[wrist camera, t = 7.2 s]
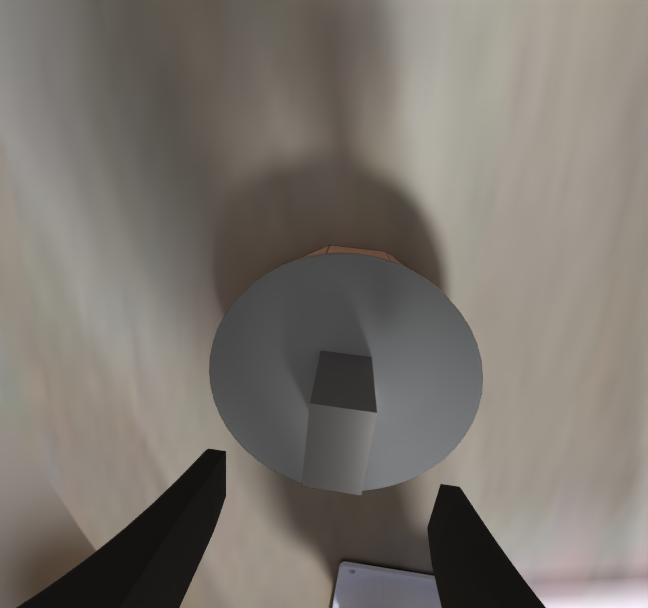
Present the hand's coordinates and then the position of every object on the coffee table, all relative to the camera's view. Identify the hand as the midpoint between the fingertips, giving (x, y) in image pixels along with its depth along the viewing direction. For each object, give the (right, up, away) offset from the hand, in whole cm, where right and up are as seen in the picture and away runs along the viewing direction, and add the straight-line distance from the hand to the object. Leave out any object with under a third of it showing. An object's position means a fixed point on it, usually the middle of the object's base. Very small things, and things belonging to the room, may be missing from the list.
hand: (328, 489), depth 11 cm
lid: (+1, +2, +6) cm, 6 cm away
